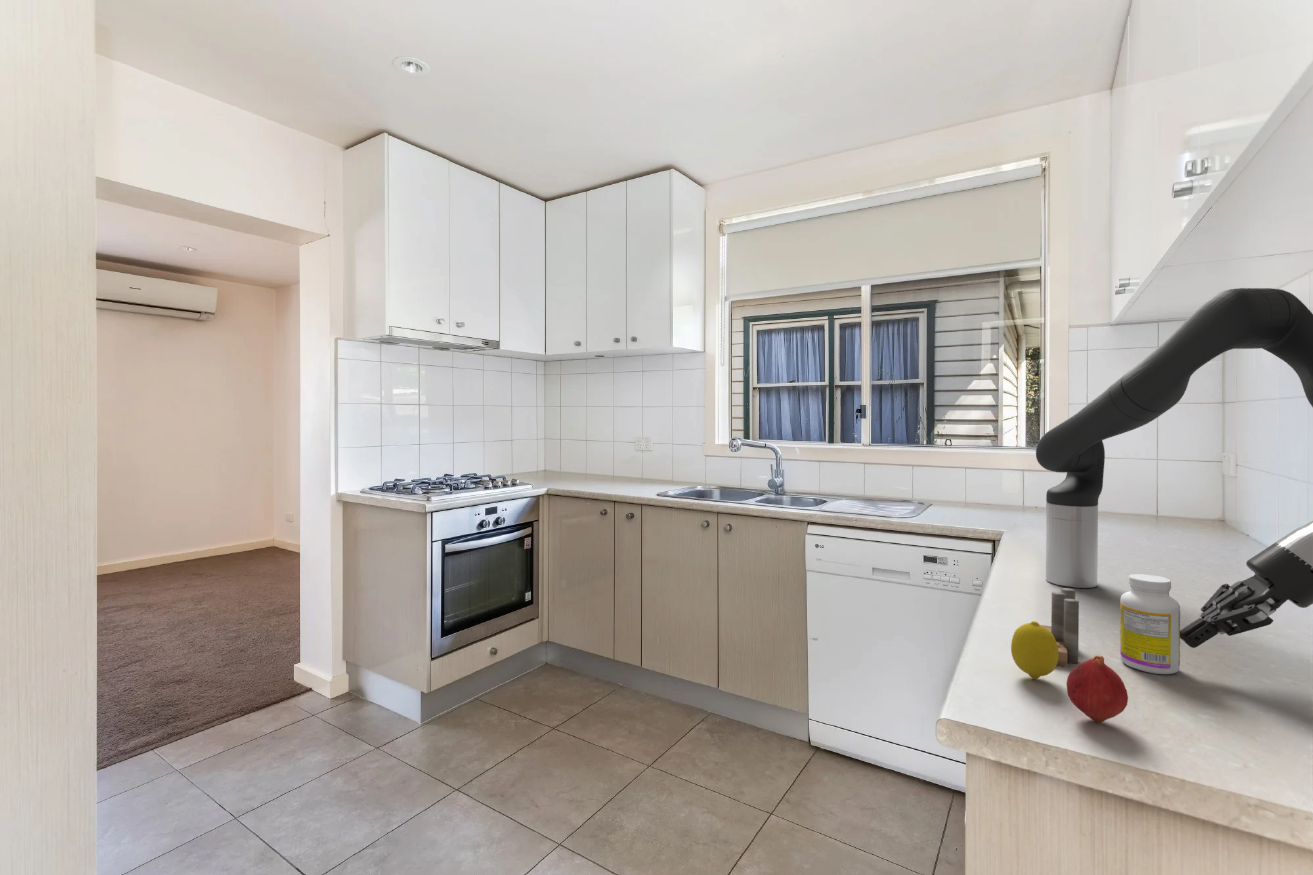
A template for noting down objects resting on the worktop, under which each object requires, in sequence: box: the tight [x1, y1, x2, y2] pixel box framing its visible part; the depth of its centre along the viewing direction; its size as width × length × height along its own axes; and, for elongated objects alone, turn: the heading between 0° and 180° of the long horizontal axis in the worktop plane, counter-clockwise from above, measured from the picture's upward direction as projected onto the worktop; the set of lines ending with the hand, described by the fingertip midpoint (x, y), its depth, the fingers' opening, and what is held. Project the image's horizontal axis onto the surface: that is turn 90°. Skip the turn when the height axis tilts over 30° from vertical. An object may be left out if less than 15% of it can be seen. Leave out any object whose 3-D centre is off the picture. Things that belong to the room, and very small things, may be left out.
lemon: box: [1010, 621, 1059, 680], centre depth 82 cm, size 6×6×8 cm
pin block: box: [1041, 587, 1080, 667], centre depth 92 cm, size 12×6×9 cm, turn 149°
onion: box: [1065, 654, 1129, 724], centre depth 71 cm, size 6×6×8 cm
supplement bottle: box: [1119, 573, 1181, 675], centre depth 86 cm, size 7×7×13 cm
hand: (1184, 641), depth 84 cm, fingers closed
